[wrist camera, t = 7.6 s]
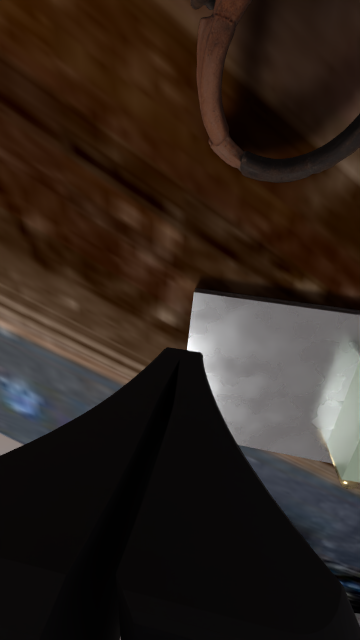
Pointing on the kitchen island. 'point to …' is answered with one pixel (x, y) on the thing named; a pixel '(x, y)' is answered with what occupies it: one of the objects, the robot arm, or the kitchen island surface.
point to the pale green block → (348, 433)
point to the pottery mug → (210, 62)
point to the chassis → (277, 368)
